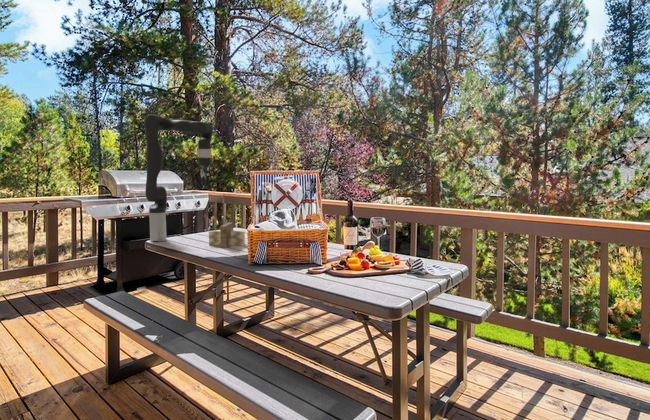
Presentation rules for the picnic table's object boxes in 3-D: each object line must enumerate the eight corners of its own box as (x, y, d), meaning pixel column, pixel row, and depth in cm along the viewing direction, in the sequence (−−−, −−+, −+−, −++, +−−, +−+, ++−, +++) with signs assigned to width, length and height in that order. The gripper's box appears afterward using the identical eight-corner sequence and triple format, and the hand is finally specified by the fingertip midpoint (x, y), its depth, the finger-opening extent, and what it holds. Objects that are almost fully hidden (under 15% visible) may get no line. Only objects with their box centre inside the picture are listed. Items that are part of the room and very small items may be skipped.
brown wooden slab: (228, 242, 251) (228, 222, 250) (233, 242, 251) (233, 222, 250) (220, 247, 233) (220, 226, 232) (226, 247, 233) (225, 226, 232)
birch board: (209, 245, 240) (208, 231, 240) (210, 244, 243) (210, 230, 242) (244, 245, 240) (243, 231, 239) (244, 244, 243) (244, 230, 242)
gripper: (195, 157, 249) (196, 184, 251) (201, 156, 237) (201, 185, 238) (208, 157, 253) (208, 184, 254) (214, 156, 240) (215, 185, 242)
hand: (205, 185), depth 246 cm, fingers open, 8 cm apart
